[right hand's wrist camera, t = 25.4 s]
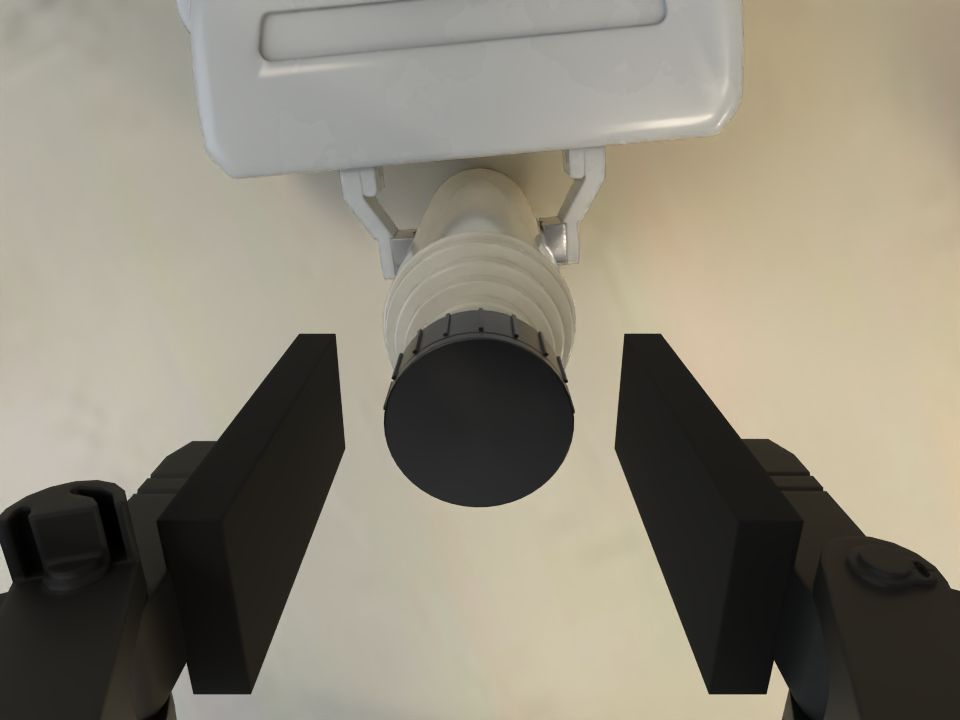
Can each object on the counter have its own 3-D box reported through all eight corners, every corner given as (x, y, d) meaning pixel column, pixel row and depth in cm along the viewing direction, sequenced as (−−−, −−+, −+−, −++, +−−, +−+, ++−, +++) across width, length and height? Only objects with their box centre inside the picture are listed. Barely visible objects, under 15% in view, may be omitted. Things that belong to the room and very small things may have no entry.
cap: (591, 336, 14) (606, 367, 12) (533, 483, 15) (540, 529, 14) (418, 284, 13) (410, 310, 12) (374, 441, 15) (361, 483, 13)
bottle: (519, 156, 32) (586, 254, 12) (541, 260, 34) (629, 494, 14) (415, 182, 33) (310, 318, 13) (442, 283, 35) (389, 542, 15)
